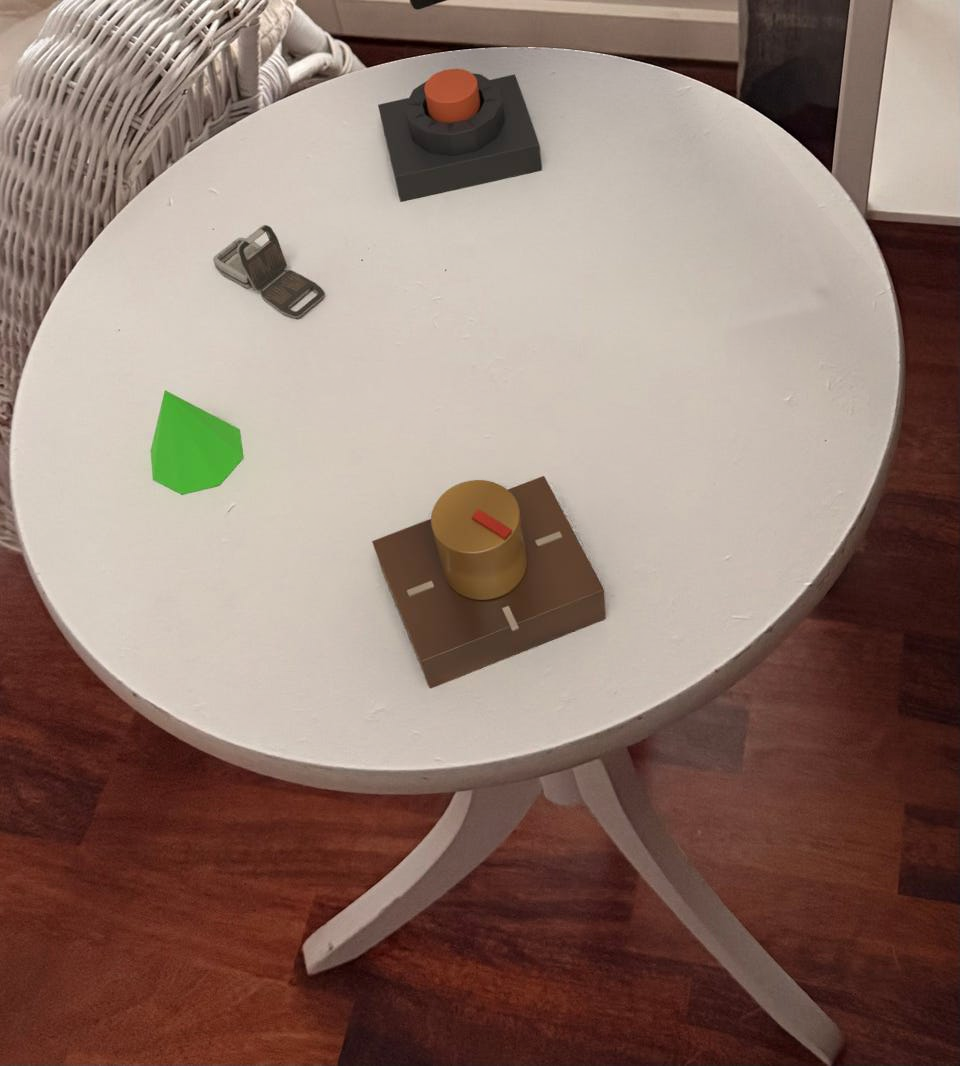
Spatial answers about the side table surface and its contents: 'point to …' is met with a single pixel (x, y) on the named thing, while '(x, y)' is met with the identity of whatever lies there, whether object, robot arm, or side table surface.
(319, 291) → the strap clip
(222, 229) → the side table surface
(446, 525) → the knob
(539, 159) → the button box
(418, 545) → the panel
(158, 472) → the gemstone
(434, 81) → the button
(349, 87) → the side table surface
